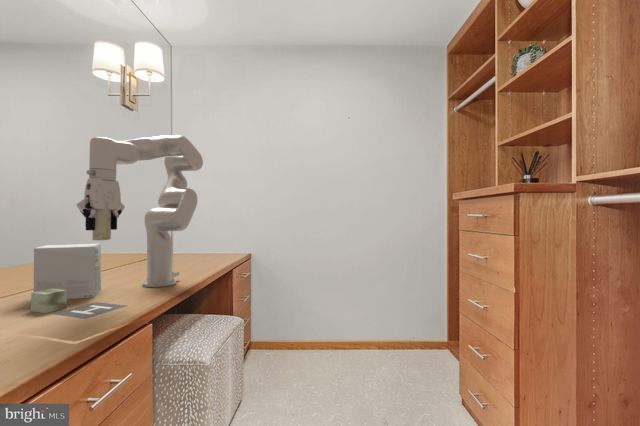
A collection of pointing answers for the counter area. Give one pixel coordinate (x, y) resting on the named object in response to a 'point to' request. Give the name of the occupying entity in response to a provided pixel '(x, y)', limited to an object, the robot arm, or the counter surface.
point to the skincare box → (102, 224)
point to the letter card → (90, 310)
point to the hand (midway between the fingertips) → (101, 229)
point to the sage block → (48, 300)
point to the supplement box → (68, 269)
